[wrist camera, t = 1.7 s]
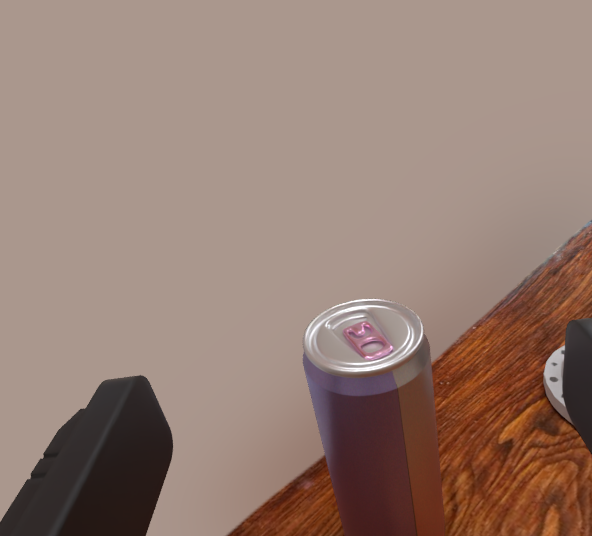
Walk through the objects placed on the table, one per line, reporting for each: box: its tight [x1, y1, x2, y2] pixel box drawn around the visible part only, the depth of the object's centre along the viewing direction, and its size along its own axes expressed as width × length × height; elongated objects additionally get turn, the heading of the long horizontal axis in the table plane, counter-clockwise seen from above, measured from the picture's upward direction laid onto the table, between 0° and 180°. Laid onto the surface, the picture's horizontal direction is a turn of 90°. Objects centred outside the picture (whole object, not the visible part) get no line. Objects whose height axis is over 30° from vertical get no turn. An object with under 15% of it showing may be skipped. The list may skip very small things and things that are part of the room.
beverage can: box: [303, 299, 445, 536], centre depth 26 cm, size 6×6×15 cm
